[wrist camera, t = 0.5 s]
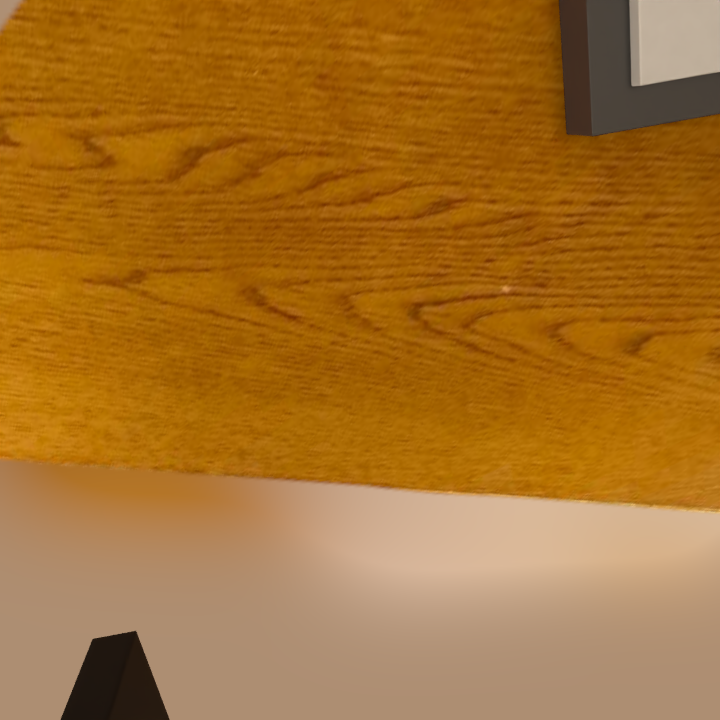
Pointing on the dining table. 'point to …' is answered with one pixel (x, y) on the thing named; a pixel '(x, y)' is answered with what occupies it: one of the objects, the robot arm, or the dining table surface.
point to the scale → (638, 63)
